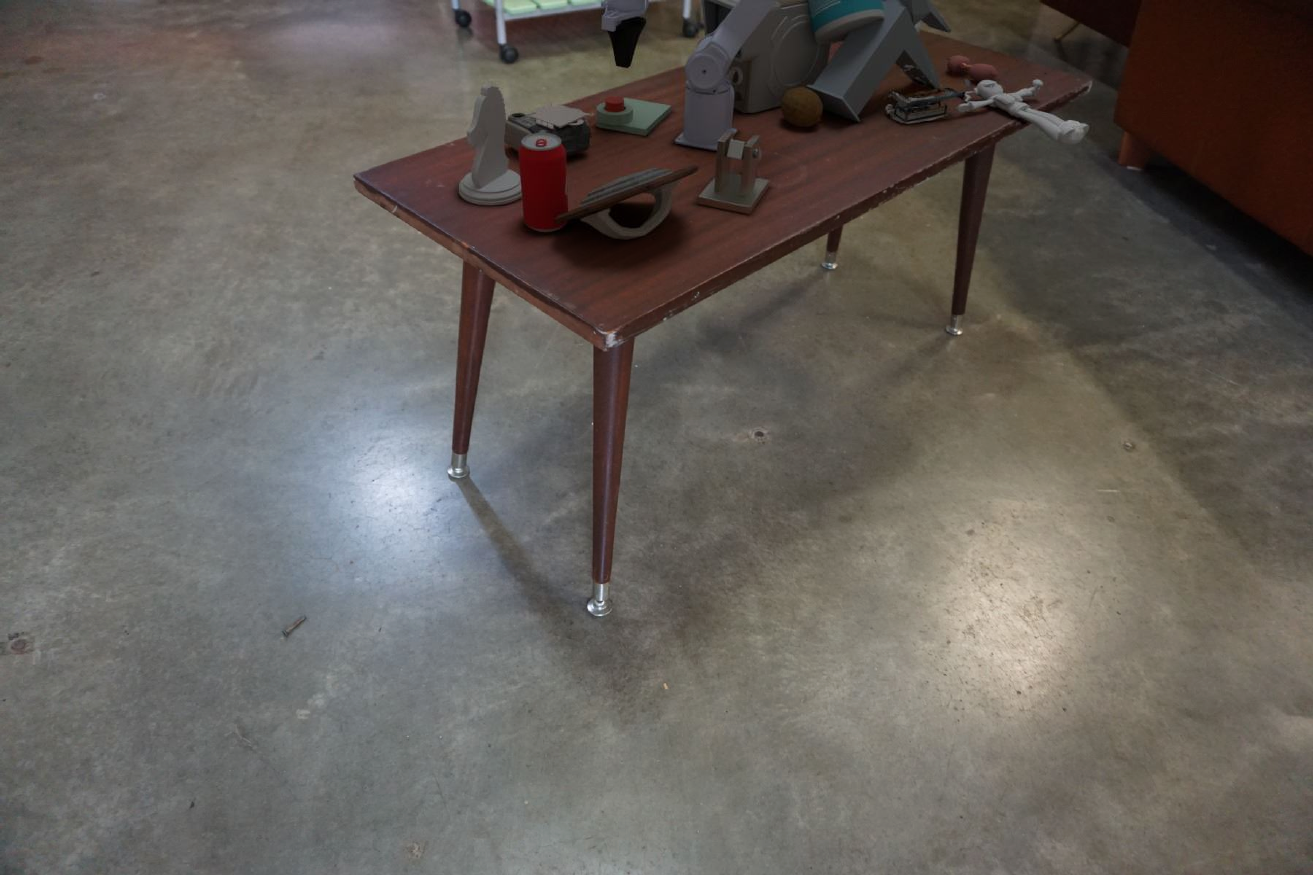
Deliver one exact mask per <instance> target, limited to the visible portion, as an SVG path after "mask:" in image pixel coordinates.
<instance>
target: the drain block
mask: <svg viewBox="0 0 1313 875" xmlns="http://www.w3.org/2000/svg"><path fill="white" fill-rule="evenodd" d="M623 99H624V111H621V112H608V111H606V110H605V102H601V103H599V104H597V105H596V107H595V114H596V116H595V117H596V128H600V129H605V130H612V131H617V132H621V133H627V134H632V135H638V136H644V137H646V136H647V135H648V134H650V133H651V132H652V131H653V129H655V128H656V127H657V126H658V125H659V124H660V123H661V122H662V121H663V120H664V119H666V118H667V117H668V115H670V114H671V112H672V105H669V104H664V103H658V102H653V101H646V100H642V99H637V98H636V99H635V98H631V97H623Z"/></svg>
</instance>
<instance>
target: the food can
mask: <svg viewBox="0 0 1313 875" xmlns="http://www.w3.org/2000/svg"><path fill="white" fill-rule="evenodd" d="M807 2H808V4H809V12H810V18H811V23H812V28H813V32H814V36H815V40H816V42H817V43H819V44H832V45H833V44H836V43H842V42H843V41H844V40H845V38H846V37H847V36H848V34H849V33H850V31H851V30H854V29H856V28H859V27H862V26H864V25H867V24H869V23H872V22H875V21H877V20H880V19H884V18H885V16H884V10H883V5H882V0H807Z"/></svg>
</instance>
